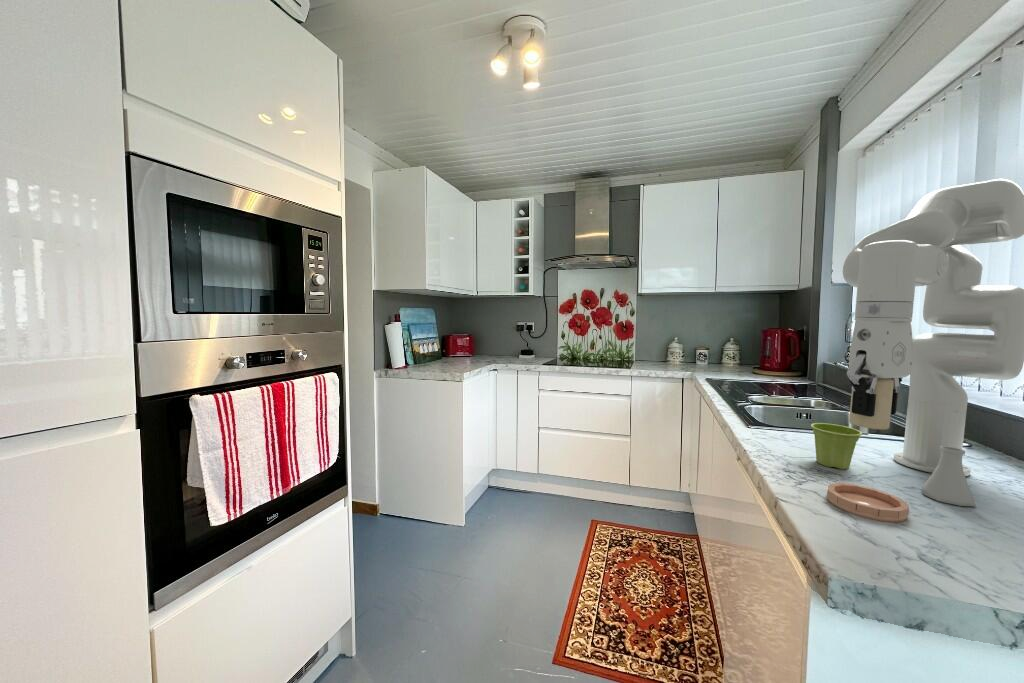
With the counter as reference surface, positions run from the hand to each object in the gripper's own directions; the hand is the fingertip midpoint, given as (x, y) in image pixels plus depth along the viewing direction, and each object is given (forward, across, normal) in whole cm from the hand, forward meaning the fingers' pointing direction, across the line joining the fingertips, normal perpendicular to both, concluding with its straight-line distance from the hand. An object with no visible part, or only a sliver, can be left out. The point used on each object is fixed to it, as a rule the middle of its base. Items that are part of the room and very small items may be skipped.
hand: (873, 412), depth 73 cm
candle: (+3, 0, +1) cm, 3 cm away
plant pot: (+18, +18, +16) cm, 30 cm away
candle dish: (+17, 0, 0) cm, 17 cm away
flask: (+18, +20, -3) cm, 27 cm away
